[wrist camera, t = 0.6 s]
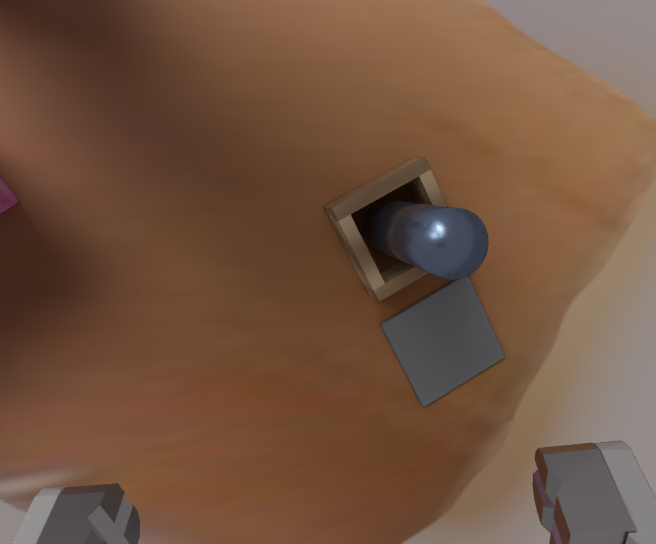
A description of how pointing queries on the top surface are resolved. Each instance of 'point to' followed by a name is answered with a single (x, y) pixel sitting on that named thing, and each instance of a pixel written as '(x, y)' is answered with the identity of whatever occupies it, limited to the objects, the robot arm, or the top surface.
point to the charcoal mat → (443, 340)
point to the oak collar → (341, 208)
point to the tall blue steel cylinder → (428, 237)
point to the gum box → (6, 197)
